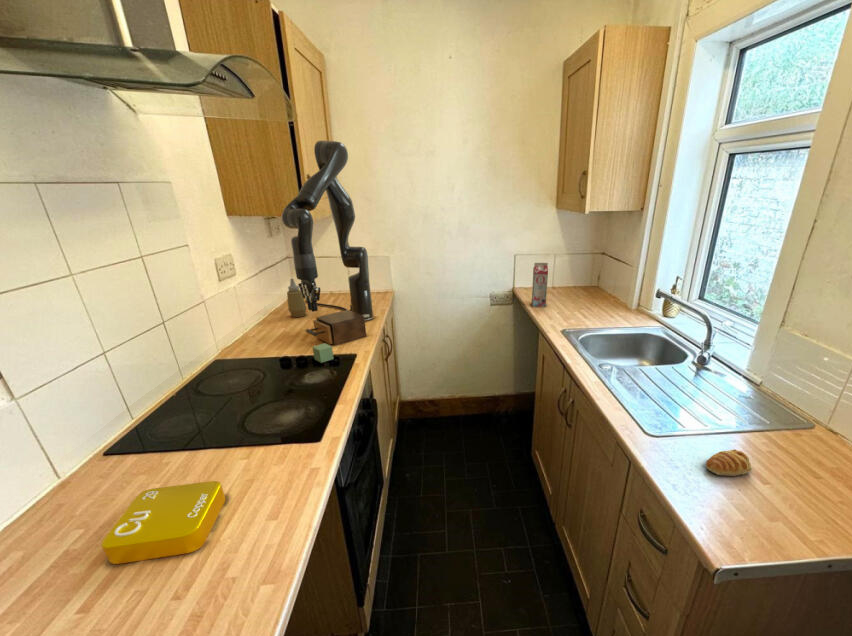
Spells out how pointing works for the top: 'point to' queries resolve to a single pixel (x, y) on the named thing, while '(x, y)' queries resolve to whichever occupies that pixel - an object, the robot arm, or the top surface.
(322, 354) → the block
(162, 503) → the element tile
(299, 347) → the top surface
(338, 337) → the cabinet
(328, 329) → the drawer
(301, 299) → the squeeze bottle
